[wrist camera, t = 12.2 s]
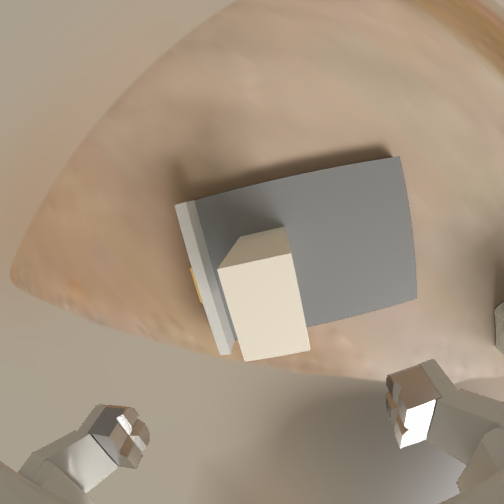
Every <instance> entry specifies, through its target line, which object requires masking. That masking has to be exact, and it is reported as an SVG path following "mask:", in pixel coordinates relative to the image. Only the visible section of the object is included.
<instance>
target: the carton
mask: <svg viewBox="0 0 504 504" xmlns="http://www.w3.org/2000/svg"><path fill="white" fill-rule="evenodd" d="M217 271H218V275H219V278H220V282H221V285H222V288H223V292H224V295H225V299H226V302H227V305H228V309H229V312H230V315H231V319H232V322H233V325H234V329H235V332H236V335H237V338H238V342H239V345H240V348H241V351H242V354H243V357H244V360H245V361H252V360H259V359H265V358H271V357H277V356H282V355H288V354H293V353H298V352H303V351H308V350H310V344H309V339H308V333H307V328H306V323H305V318H304V312H303V307H302V302H301V297H300V292H299V287H298V283H297V278H296V273H295V268H294V264H293V259H292V254H291V250H290V246H289V241H288V237H287V233H286V229H285V226H284V227H280V228H276V229H271V230H267V231H262V232H258V233H254V234H249V235H245V236H241V237H239V239H238V240H237V242H236V243H235V244H234V246H233V247H232V249H231V250H230V251H229V253H228V254H227V256H226V257H225V258H224V260H223V261H222V263H221V264H220V266H219V267H218V268H217Z"/></svg>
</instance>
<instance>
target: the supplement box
mask: <svg viewBox="0 0 504 504" xmlns="http://www.w3.org/2000/svg"><path fill="white" fill-rule="evenodd" d="M494 314H495V324H496V348H497V349H498V350H499V351H500V352H502V353H503V354H504V302H502V303H501V304H500V305H499V306H498V307H497V308H496V309H495V310H494Z"/></svg>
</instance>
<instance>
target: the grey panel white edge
mask: <svg viewBox="0 0 504 504" xmlns="http://www.w3.org/2000/svg"><path fill="white" fill-rule="evenodd" d="M175 209H176V213H177V217H178V220H179V224H180V228H181V232H182V235H183V239H184V242H185V246H186V249H187V253H188V256H189V260H190V263H191V266H192V267H191V268H190V270H191V274H192V277H193V280H194V283H195V287H196V290H197V293H198V296H199V299H200V302H201V303H202V302H203V305H204V308H205V311H206V314H207V317H208V320H209V323H210V326H211V329H212V332H213V335H214V338H215V341H216V344H217V347H218V350H219V352H220V355H227V354H231V352H232V348H233V344H234V341H235V340H238V338H237V335H236V332H235V329H234V325H233V322H232V319H231V315H230V312H229V309H228V305H227V302H226V299H225V295H224V292H223V288H222V285H221V282H220V278H219V275H218V271H217V268H218V267H219V266H220V264H221V263H222V261H223V260H224V258H225V257H226V256H227V254H228V253H229V251H230V250H231V249H232V247H233V246H234V244H235V243H236V242H237V240H238V239H239V237H241V236H245V235H249V234H254V233H258V232H262V231H267V230H271V229H276V228H280V227H284V226H285V229H286V233H287V237H288V241H289V246H290V250H291V254H292V259H293V264H294V268H295V273H296V278H297V283H298V287H299V292H300V297H301V302H302V307H303V312H304V318H305V323H306V327H310V326H315V325H319V324H324V323H328V322H332V321H337V320H341V319H345V318H349V317H353V316H357V315H361V314H365V313H368V312H372V311H376V310H379V309H383V308H387V307H390V306H394V305H397V304H400V303H404V302H407V301H410V300H414V299H417V279H416V262H415V250H414V239H413V230H412V222H411V215H410V208H409V202H408V196H407V190H406V184H405V179H404V174H403V169H402V164H401V160H400V156H399V157H392V158H385V159H379V160H373V161H367V162H361V163H355V164H349V165H344V166H338V167H333V168H328V169H323V170H318V171H313V172H308V173H303V174H299V175H294V176H289V177H285V178H280V179H276V180H272V181H267V182H263V183H259V184H255V185H251V186H247V187H243V188H239V189H235V190H231V191H227V192H223V193H219V194H216V195H212V196H208V197H205V198H201V199H197V200H193V201H188V202H184V203H180V204H177V205H175Z"/></svg>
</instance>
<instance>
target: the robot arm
mask: <svg viewBox="0 0 504 504" xmlns="http://www.w3.org/2000/svg"><path fill="white" fill-rule="evenodd" d="M386 386H387V388H388V390H389V391H388V393H387V394H386V401H385V403H386V411H387V414H388V418H389V420H390V422H391V423H393V424H394V425H395V431H394V433H395V436H396V439H397V441H398V444H399V446H400V448H403V447H406V446H408V445H412V444H414V443H417V442H420V441H423V440H425V439H427V441H428V442H430V443H431V444H433V445H435V446H436V447H438V448H439V449H441V450H443V451H444V452H446V453H447V454H449V455H451V456H452V457H454V458H456V459H457V460H459V461H461V462H462V463H464V464H466V465H467V466H466V468H465V469H464V471H463V473H462V474H461V476H460V477H459V479H458V481H457V482H456V483H457V485H458V488H459V490H460V494H458V495H456V496H454V497H452V498H450V499H448V500H446V501H444V502H441V503H439V504H504V402H501V401H498V400H494V399H491V398H488V397H485V396H482V395H479V394H476V393H473V392H470V391H467V390H464V389H460V390H457V389H456V387H455V386H454V385H453V383H452V382H451V381H450V379H449V378H448V377H447V375H446V374H445V373H444V371H443V370H442V369H441V367H440V366H439V365H438V363H437V362H436V361H435V360H433V359H431V360H428V361H426V362H423V363H421V364H418V365H416V366H413V367H410V368H407V369H404V370H401V371H399V372H396V373H393V374H389V375H387V378H386ZM138 417H139V414H138V413H137V412H136V410H135V408H131V407H124V406H113V405H103V404H99V405H96V406H95V408H94V409H93V410H92V412H91V413H90V414H89V416H88V417H87V418H86V420H85V421H84V423H83V424H82V425H81V427H80V428H79V429H78V431H73V432H71V433H69V434H67V435H66V436H64V437H62V438H60V439H58V440H56V441H54V442H52V443H51V444H49V445H47V446H45V447H43V448H41V449H39V450H37V451H35V452H33V453H32V454H31V455H30V457H29V458H28V459H27V461H26V462H25V463H24V465H23V466H22V467H21V469H20V470H19V471H18V473H17V472H15V471H14V470H12V469H11V468H10V467H8V466H7V465H5V464H4V463H2V462H1V461H0V504H94V500H93V499H92V498H91V497H89V496H88V495H87V494H86V493H87V492H88V491H90V490H91V489H92V488H93V487H95V486H96V485H97V484H98V483H100V482H101V481H102V480H103V479H104V478H106V477H107V476H108V475H109V474H111V473H112V472H113V471H114V470H115V469H116V468H118V466H121V467H127V468H133V469H137V468H138V465H139V463H140V461H141V459H142V457H143V455H142V452H141V451H142V450H143V449H145V448H146V447H147V446H148V443H149V441H150V433H149V430H148V428H147V426H146V425H145V423H143V422H142V421H141V420H139V419H138Z"/></svg>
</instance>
